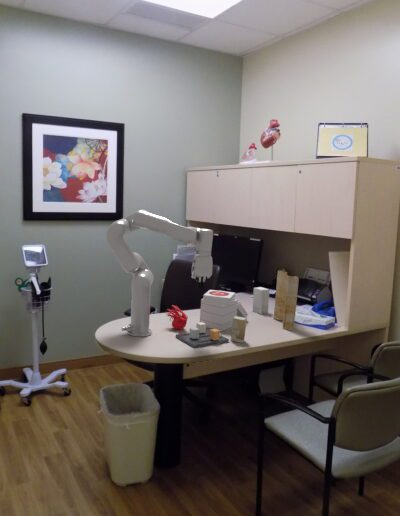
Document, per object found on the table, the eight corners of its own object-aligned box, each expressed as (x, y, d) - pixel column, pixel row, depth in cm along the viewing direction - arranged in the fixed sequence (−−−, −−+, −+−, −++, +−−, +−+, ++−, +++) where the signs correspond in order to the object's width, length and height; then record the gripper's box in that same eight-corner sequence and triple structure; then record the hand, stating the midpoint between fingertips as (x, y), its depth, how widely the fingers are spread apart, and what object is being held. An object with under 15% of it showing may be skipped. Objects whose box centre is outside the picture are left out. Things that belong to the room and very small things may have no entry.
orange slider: (213, 340, 235) (214, 331, 234) (209, 338, 238) (210, 329, 237) (219, 339, 237) (220, 330, 236) (215, 337, 240) (215, 328, 239)
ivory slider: (200, 333, 244) (200, 324, 244) (196, 331, 247) (196, 322, 247) (205, 332, 246) (206, 324, 246) (201, 330, 249) (202, 322, 249)
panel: (194, 348, 228) (194, 343, 227) (175, 337, 241) (175, 332, 241) (228, 342, 240) (229, 337, 239) (209, 332, 253) (209, 327, 253)
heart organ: (177, 333, 248) (179, 311, 246) (163, 327, 256) (164, 305, 255) (191, 330, 254) (193, 308, 253) (177, 324, 263) (179, 303, 261)
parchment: (295, 330, 266) (300, 278, 261) (284, 330, 265) (289, 277, 261) (282, 318, 289) (287, 270, 284) (272, 318, 288) (277, 269, 283)
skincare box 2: (268, 313, 298) (270, 289, 295) (260, 314, 294) (262, 290, 292) (259, 310, 305) (261, 286, 302) (251, 311, 301) (253, 287, 299)
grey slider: (193, 338, 235) (193, 330, 234) (189, 336, 238) (189, 328, 237) (198, 338, 237) (199, 329, 236) (195, 335, 240) (195, 327, 239)
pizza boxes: (250, 321, 278) (252, 291, 276) (222, 332, 254) (224, 299, 251) (222, 314, 289) (224, 285, 286) (193, 324, 265) (195, 293, 262)
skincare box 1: (230, 341, 241) (232, 317, 239) (232, 338, 245) (234, 315, 244) (242, 343, 239) (244, 319, 237) (244, 340, 243) (246, 317, 241)
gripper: (194, 255, 229) (190, 291, 232) (219, 255, 237) (215, 290, 240) (186, 252, 235) (183, 288, 238) (211, 252, 244) (207, 287, 246)
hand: (199, 289), depth 239 cm, fingers closed
